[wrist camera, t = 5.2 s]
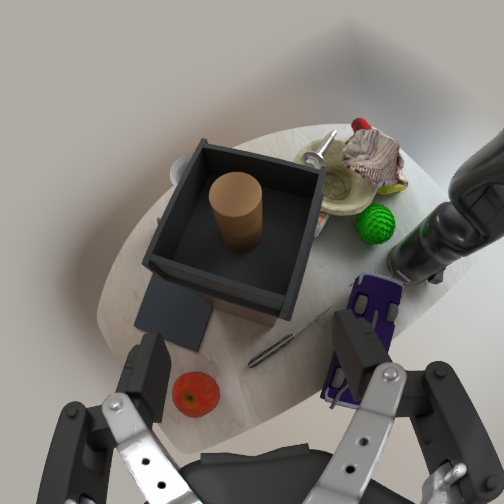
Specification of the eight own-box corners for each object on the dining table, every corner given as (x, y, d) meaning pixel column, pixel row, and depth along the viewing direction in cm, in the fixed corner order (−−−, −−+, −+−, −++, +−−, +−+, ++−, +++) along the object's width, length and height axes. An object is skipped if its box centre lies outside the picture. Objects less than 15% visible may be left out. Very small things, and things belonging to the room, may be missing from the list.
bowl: (356, 217, 64) (345, 239, 52) (295, 171, 67) (269, 183, 55) (391, 170, 55) (389, 181, 44) (324, 123, 58) (304, 122, 47)
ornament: (400, 211, 48) (382, 190, 56) (361, 221, 49) (347, 199, 58) (402, 246, 52) (385, 222, 60) (365, 256, 54) (352, 231, 62)
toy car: (360, 264, 46) (348, 280, 55) (317, 405, 38) (311, 397, 48) (412, 280, 43) (392, 294, 53) (375, 419, 36) (359, 409, 45)
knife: (334, 299, 53) (338, 296, 51) (338, 304, 53) (342, 302, 50) (246, 363, 50) (245, 363, 47) (250, 369, 50) (250, 370, 47)
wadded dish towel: (428, 157, 47) (398, 199, 45) (418, 174, 53) (387, 214, 51) (369, 115, 52) (332, 150, 50) (364, 134, 58) (328, 169, 56)
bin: (298, 264, 56) (333, 168, 26) (277, 335, 52) (295, 314, 22) (229, 243, 58) (196, 137, 28) (204, 311, 54) (135, 261, 24)
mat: (221, 283, 56) (220, 283, 55) (197, 351, 51) (196, 351, 51) (158, 262, 58) (157, 261, 57) (134, 325, 53) (133, 325, 53)
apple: (207, 419, 47) (194, 434, 37) (172, 394, 49) (151, 402, 39) (231, 386, 49) (223, 395, 39) (195, 361, 51) (178, 363, 41)
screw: (320, 160, 48) (296, 155, 50) (322, 180, 52) (299, 174, 54) (344, 124, 53) (323, 120, 55) (345, 142, 57) (325, 138, 59)
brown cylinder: (267, 220, 30) (268, 178, 23) (255, 257, 29) (252, 223, 22) (230, 210, 31) (219, 167, 23) (216, 245, 30) (200, 209, 22)
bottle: (399, 194, 63) (362, 127, 66) (418, 183, 58) (377, 113, 60) (373, 201, 58) (332, 125, 61) (393, 188, 52) (348, 109, 55)
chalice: (229, 230, 59) (216, 182, 42) (198, 240, 59) (173, 196, 42) (220, 200, 62) (206, 147, 45) (190, 210, 61) (166, 160, 44)
